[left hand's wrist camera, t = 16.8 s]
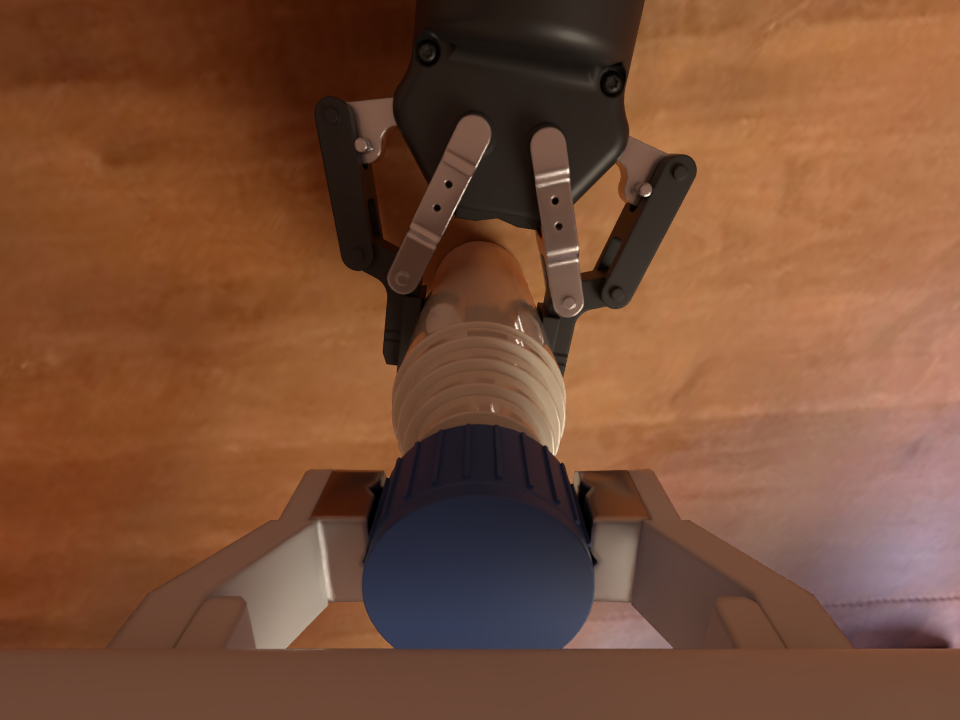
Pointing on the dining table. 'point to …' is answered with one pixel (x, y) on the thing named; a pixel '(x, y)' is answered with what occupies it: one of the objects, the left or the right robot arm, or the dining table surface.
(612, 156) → the right robot arm
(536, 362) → the bottle
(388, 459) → the dining table surface
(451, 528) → the cap
